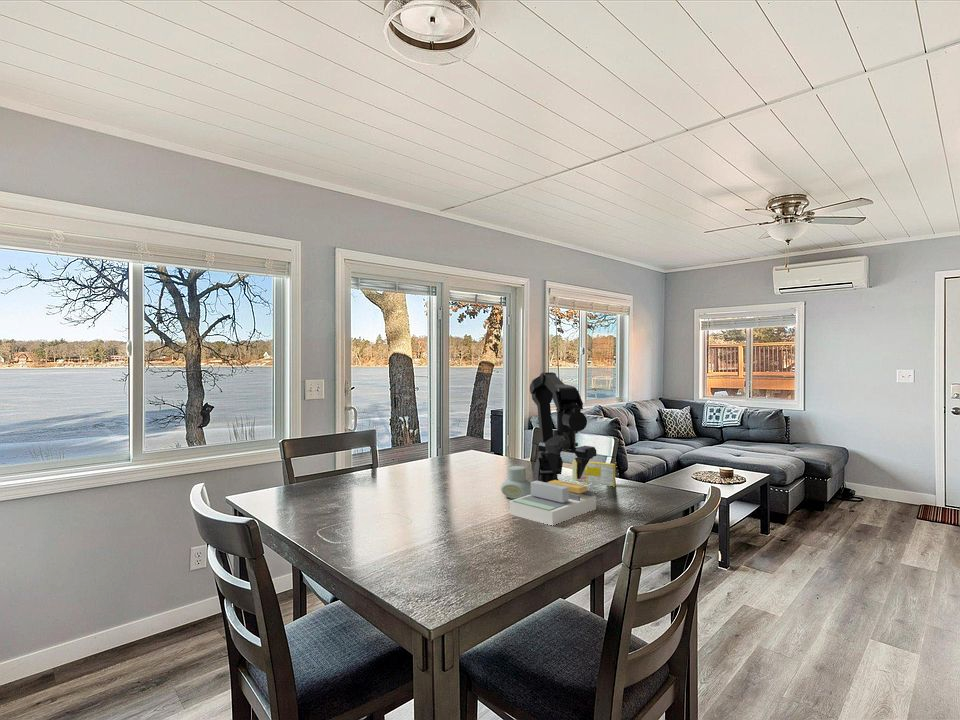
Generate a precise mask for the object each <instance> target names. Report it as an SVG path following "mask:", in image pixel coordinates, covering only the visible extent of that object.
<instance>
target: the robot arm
mask: <svg viewBox="0 0 960 720" xmlns="http://www.w3.org/2000/svg"><path fill="white" fill-rule="evenodd" d="M529 392H530V395H531V399H532V401H533V402H534V404H535V405H536V407H537V417H538V427H539V436H540V437H539V439H540V442H539V443H538V445H537V451H538V452H537V458H536V461H535V464H534V465H533V469H534V474H536V475H537V481H541V482H546V483H548V482H549V481H553V480H559V478H558V477H559V476H558V475H562V471H563V463H564V461H563V459H562V456H561V453H562V452H563V453H570V454H575V456H576V457H574V460H576V462H577V479H580V478H581V476H582V474H583V471H584V469H585V467H586V465H587V463H588V462H590V460H592V459H593V458H594V457H597V449H596V447H595V446H592V445H591V446H590V445H582V446H579V443H578V442H576V440H577V439H576V434H579V432H581V431H583V430H584V429H586V427H587V425H588V419H587V417H586V415H585V414H584V413H582V412H581V411H582V410H583V409H584V403H583V400H582V398H581V395H580V392H579V390H578V389H577V387H575V386H573V385H568V384H565V383H564V382H563V381H562V380H561V379H560V378H559V377H558V376H557V374H556V373H555V372H552V371H551V372H542V373H540V374H539V376H537V377H535V378H533V379H532V381H531V383H530V385H529ZM552 401H553V404H554V405H555V408H556V409H555V410H556V429H555V430H554V428H553V418H552V409H551V403H552Z"/></svg>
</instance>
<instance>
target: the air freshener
mask: <svg viewBox="0 0 960 720" xmlns="http://www.w3.org/2000/svg"><path fill="white" fill-rule="evenodd" d="M526 475H527V473H526V467H525V466H522V465H521V466H520V465H512V466H509V467H508V469H507V478H508V479H506V480H504V481H502V483H501V485H500V491H501V493H502V495H504V496H505V497H506V498H509V499H511V500H514V499H517V498H521V497H524V496H527V495H531V481H529V480H528V479H527V478H526Z"/></svg>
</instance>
